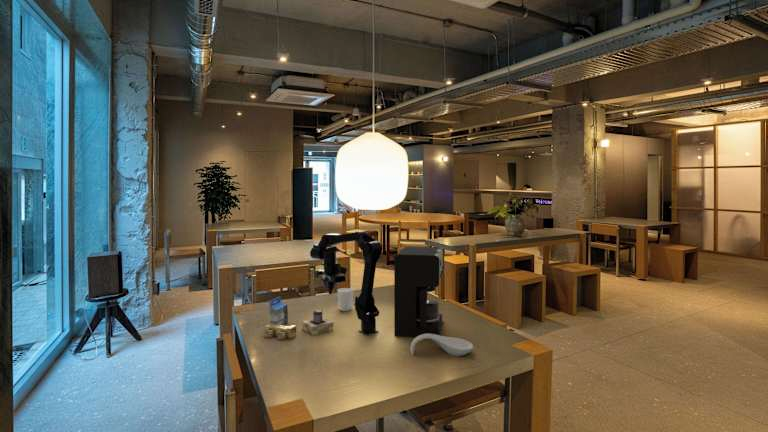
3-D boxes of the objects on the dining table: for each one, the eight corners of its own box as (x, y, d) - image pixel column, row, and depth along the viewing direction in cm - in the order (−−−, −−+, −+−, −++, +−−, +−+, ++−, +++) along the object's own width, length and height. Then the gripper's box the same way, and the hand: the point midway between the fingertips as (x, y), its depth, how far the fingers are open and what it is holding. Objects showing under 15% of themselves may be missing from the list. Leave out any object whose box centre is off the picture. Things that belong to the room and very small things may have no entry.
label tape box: (277, 328, 177) (276, 301, 176) (269, 327, 178) (269, 300, 178) (288, 322, 185) (287, 296, 185) (280, 321, 187) (280, 295, 186)
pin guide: (294, 333, 171) (293, 327, 171) (283, 339, 164) (283, 333, 164) (276, 330, 175) (275, 324, 174) (265, 336, 168) (265, 330, 168)
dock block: (333, 330, 175) (333, 322, 175) (313, 335, 169) (312, 327, 169) (322, 324, 183) (322, 316, 183) (302, 328, 177) (302, 321, 177)
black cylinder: (324, 329, 176) (324, 312, 175) (315, 331, 173) (315, 313, 173) (320, 327, 179) (319, 309, 178) (311, 329, 177) (311, 311, 176)
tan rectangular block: (296, 335, 169) (296, 325, 169) (290, 338, 165) (290, 328, 165) (270, 331, 174) (270, 321, 173) (264, 334, 170) (264, 324, 170)
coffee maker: (439, 343, 160) (440, 256, 158) (391, 339, 164) (391, 255, 162) (443, 320, 188) (444, 246, 185) (402, 318, 191) (402, 245, 189)
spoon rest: (468, 346, 157) (469, 328, 157) (476, 359, 146) (477, 340, 145) (408, 347, 156) (408, 329, 156) (412, 360, 145) (412, 341, 144)
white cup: (354, 307, 210) (354, 288, 209) (351, 311, 202) (351, 292, 201) (339, 306, 211) (339, 287, 210) (336, 311, 203) (336, 291, 202)
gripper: (355, 261, 183) (355, 295, 184) (334, 256, 197) (334, 287, 198) (334, 264, 176) (334, 299, 177) (314, 258, 191) (314, 291, 192)
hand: (330, 293), depth 186 cm, fingers closed
